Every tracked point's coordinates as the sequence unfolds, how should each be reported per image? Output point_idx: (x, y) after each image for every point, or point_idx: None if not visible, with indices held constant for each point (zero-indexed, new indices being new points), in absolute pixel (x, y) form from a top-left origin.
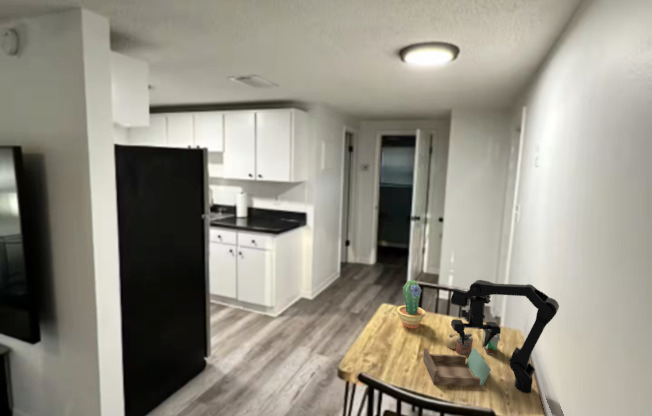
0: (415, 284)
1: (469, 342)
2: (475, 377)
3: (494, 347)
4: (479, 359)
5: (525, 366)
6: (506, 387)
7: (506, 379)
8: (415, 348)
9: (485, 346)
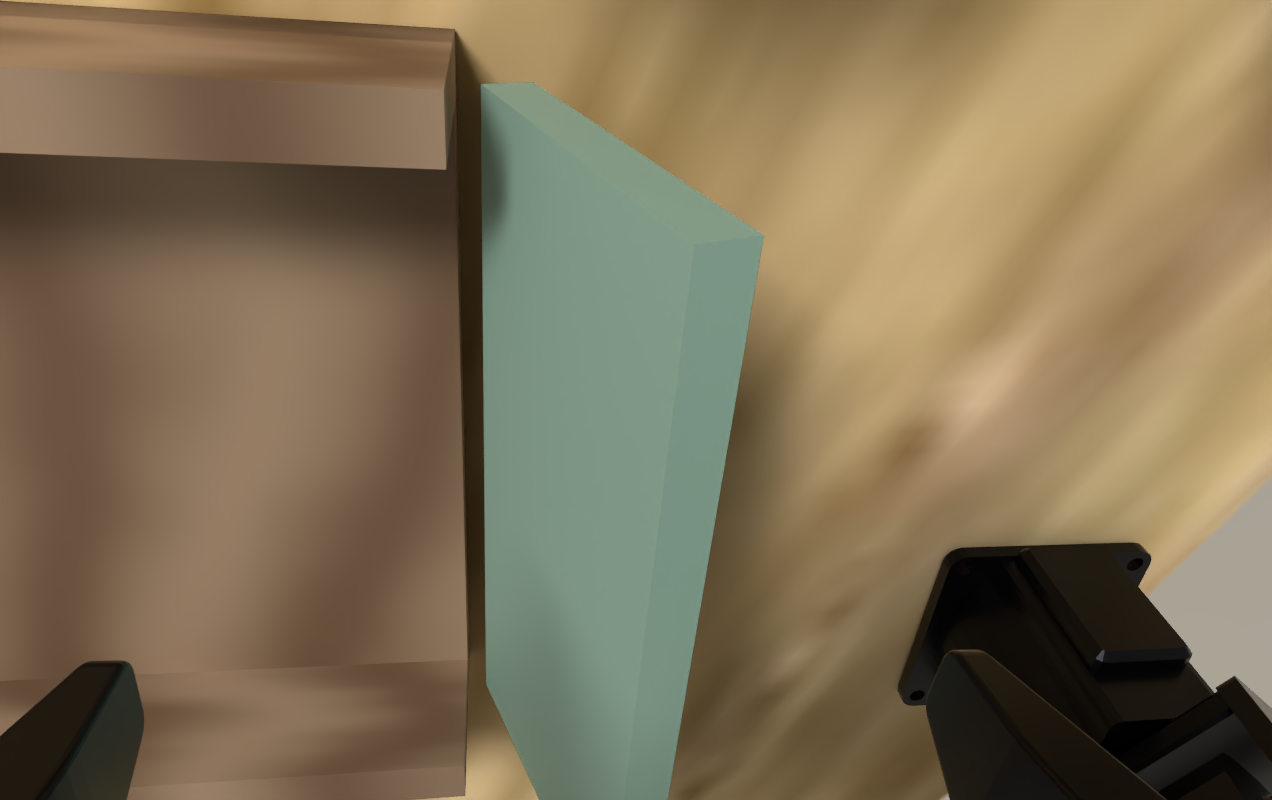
0: None
1: None
2: (394, 781)
3: None
4: (612, 645)
5: None
6: (859, 586)
7: (993, 433)
8: None
9: (939, 728)
